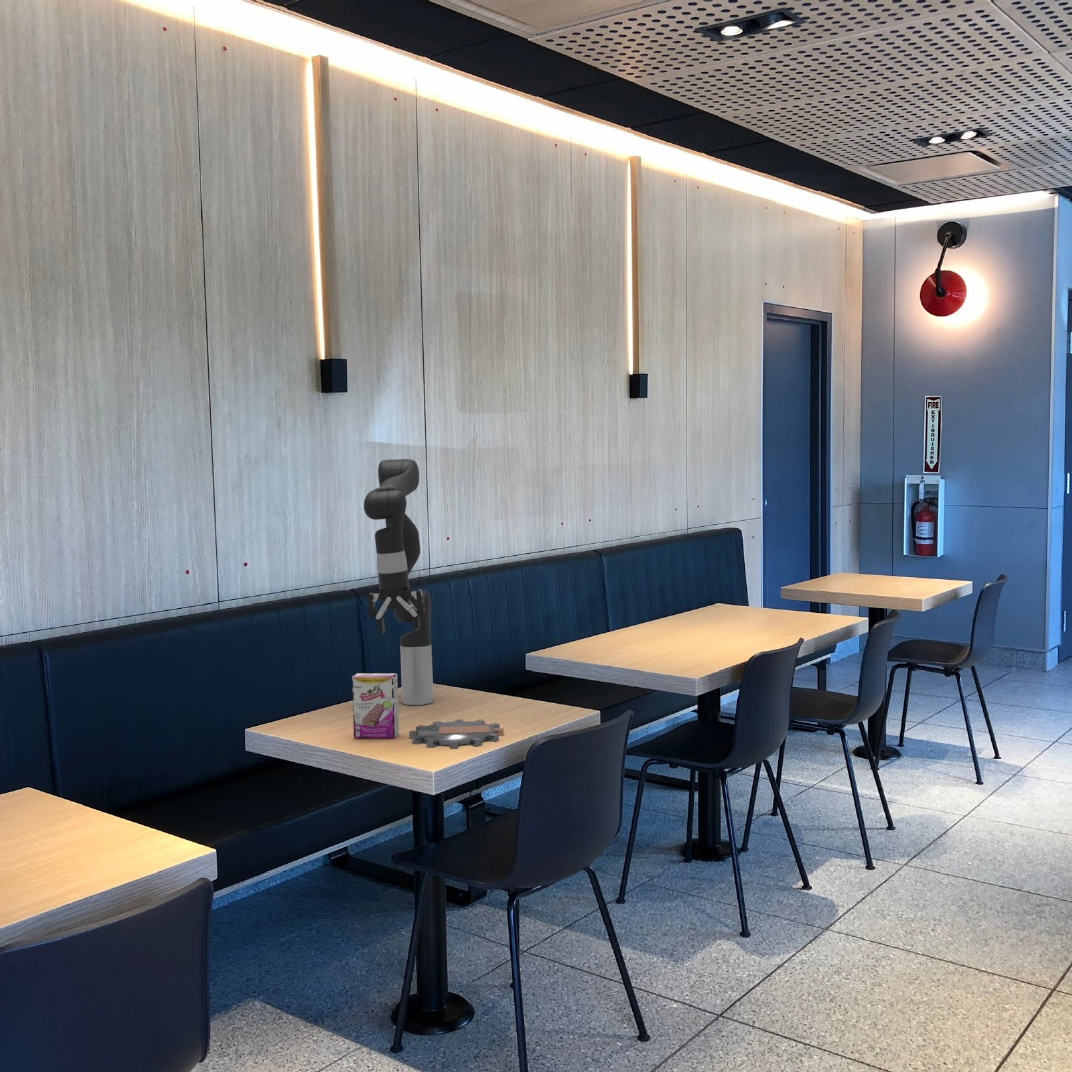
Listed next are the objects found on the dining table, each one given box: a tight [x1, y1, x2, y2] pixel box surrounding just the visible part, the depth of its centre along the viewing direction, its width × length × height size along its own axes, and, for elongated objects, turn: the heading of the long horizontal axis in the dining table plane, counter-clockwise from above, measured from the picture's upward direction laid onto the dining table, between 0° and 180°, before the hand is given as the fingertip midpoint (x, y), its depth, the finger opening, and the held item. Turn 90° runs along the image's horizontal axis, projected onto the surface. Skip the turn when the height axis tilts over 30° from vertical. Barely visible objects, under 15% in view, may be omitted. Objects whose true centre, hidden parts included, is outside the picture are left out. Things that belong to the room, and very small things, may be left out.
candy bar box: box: [351, 672, 400, 739], centre depth 290 cm, size 11×5×16 cm, turn 84°
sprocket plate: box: [408, 718, 505, 749], centre depth 289 cm, size 24×24×2 cm
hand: (399, 631), depth 284 cm, fingers open, 8 cm apart
